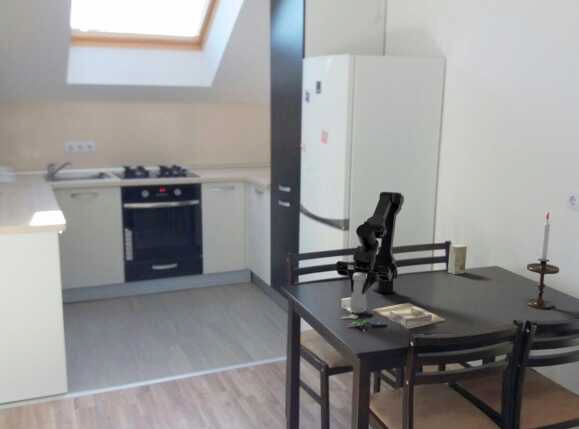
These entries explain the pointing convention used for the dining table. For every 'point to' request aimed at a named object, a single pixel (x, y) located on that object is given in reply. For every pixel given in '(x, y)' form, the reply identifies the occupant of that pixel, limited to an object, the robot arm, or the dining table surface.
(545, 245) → the candlestick
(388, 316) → the board
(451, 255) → the skincare box
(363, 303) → the salt shaker
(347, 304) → the end cap
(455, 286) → the dining table surface
